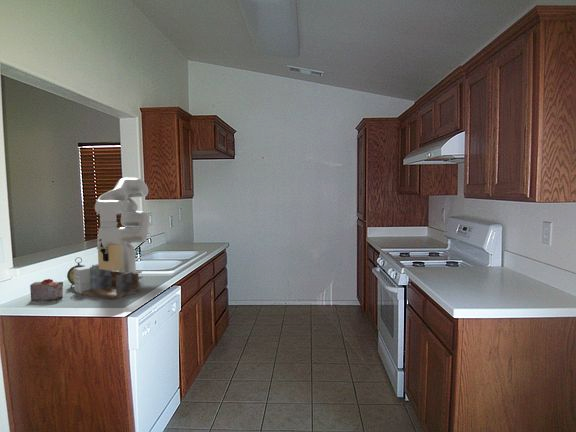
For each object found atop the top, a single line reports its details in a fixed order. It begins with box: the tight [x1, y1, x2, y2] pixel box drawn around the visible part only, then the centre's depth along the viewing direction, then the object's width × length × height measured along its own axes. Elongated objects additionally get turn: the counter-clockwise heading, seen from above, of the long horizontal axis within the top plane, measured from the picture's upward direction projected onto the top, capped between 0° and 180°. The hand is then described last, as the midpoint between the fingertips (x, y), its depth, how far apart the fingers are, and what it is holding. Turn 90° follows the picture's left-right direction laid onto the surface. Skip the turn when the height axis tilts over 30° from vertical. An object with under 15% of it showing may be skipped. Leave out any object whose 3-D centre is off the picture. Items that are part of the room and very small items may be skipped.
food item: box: [29, 278, 64, 302], centre depth 179 cm, size 14×8×10 cm, turn 93°
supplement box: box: [74, 265, 91, 295], centre depth 193 cm, size 7×7×13 cm
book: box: [97, 244, 122, 271], centre depth 188 cm, size 4×12×13 cm, turn 66°
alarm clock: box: [66, 256, 86, 288], centre depth 203 cm, size 11×5×16 cm, turn 106°
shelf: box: [82, 263, 140, 301], centre depth 189 cm, size 16×22×14 cm
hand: (109, 260), depth 188 cm, fingers closed on book, 4 cm apart
